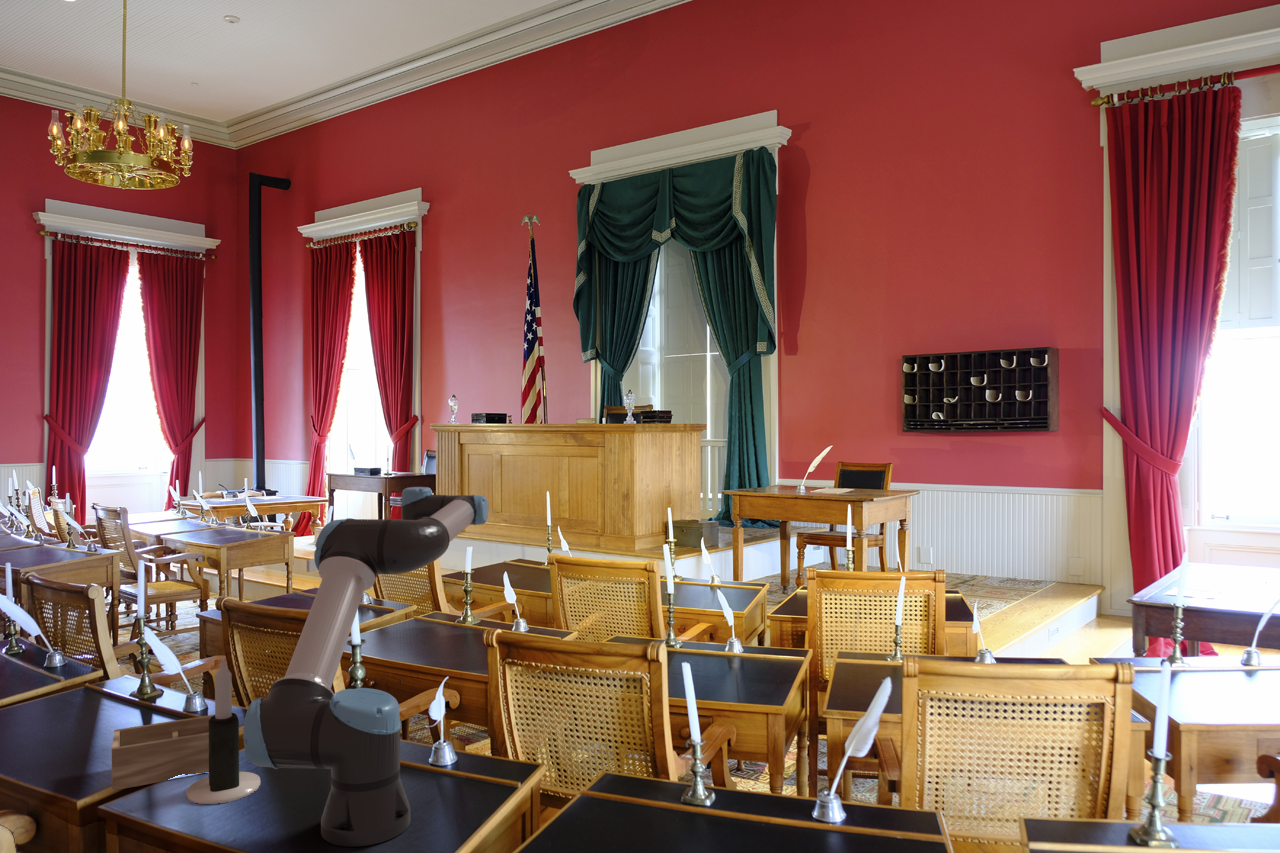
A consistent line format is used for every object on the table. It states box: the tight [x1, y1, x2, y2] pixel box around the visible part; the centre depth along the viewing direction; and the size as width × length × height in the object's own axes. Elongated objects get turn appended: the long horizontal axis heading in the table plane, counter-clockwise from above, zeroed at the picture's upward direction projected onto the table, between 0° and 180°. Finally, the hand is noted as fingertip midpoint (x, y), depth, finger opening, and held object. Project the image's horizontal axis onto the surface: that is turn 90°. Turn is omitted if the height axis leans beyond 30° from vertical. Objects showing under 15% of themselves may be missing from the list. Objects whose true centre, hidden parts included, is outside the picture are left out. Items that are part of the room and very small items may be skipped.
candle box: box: [111, 714, 215, 792], centre depth 178 cm, size 12×22×8 cm, turn 119°
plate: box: [185, 771, 261, 805], centre depth 168 cm, size 13×13×1 cm
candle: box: [208, 656, 240, 792], centre depth 168 cm, size 5×5×25 cm
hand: (331, 568), depth 196 cm, fingers open, 13 cm apart
